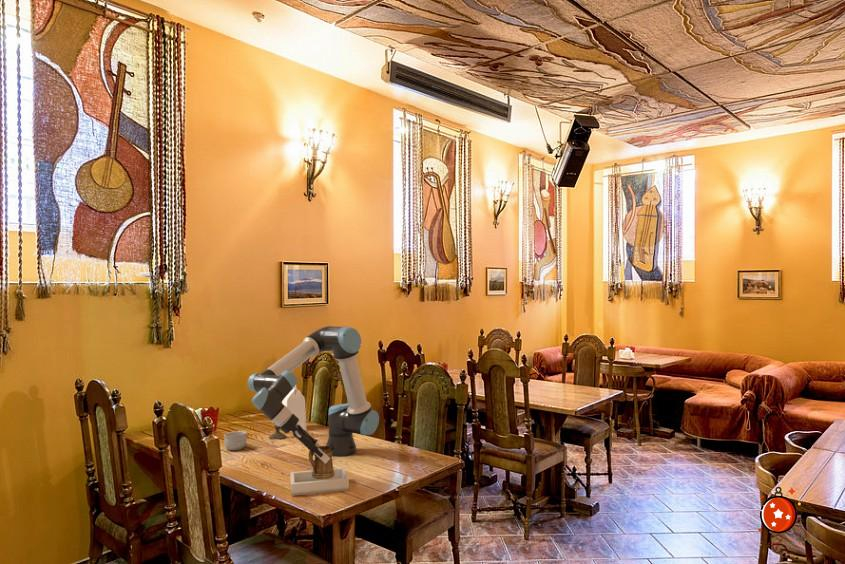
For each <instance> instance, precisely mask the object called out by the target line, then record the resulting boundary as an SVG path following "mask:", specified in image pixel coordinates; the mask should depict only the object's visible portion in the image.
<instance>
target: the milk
mask: <svg viewBox="0 0 845 564" xmlns="http://www.w3.org/2000/svg"><path fill="white" fill-rule="evenodd" d="M281 403H282V404H283V405H284V406H286V407H287V408H288V409H289V410H290V411H291V414H294V415H295V416H296V417H297V418H298V419H299V421H298V423H297V424H296V425H300V426H301V427H302V428H303V429H304V430H306V431H307V416H306V415H307V414H306V411H307V410H306V398H305V396H304V395H303V394H302V392H301V390H300V389H298V387H297V384H296V385H295V386H294V388H293V389H292V390H291V392H290V393H289V394H288V395H287V396H286V397H285V398H284V400H283V401H282V402H281ZM290 433H293V432H292V431H290Z"/></svg>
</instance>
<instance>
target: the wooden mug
mask: <svg viewBox="0 0 845 564" xmlns="http://www.w3.org/2000/svg"><path fill="white" fill-rule="evenodd" d="M304 436H305V437H306V438H307V439H308V440H310V441H311V442H312V443H313V441H312V440H311V439H310V438H309V437H308V436H306V435H305V434H304ZM313 444H314V443H313ZM314 445H315V444H314ZM319 448H320V449H321V450H322V451H323V452H324V453H325V454H326V455H327V456H328V457H330V460H329V461H328V462H327V463H326V464H325V463H324V462H323V461H322V460H321V459H320V458H319V457H317V456H316V455H315V454H314V453H313V454H311V453H312V452H311V451H310V450H308V451H309V452H308V461H309V462H310V464H311V467H312V470H313V471H312V470H311V471H312V477H313V478H315V479H329V478H331V477H333V476H334V475H335V474H334V470H333V469H334V466H333V464H334V463H333V456H332V451H331V447H329V446H326V445H321V446H320V447H319Z"/></svg>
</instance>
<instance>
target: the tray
mask: <svg viewBox="0 0 845 564" xmlns="http://www.w3.org/2000/svg"><path fill="white" fill-rule="evenodd" d="M333 470H334V474H335V475H334V476H333V477H331V478H329V479H315V478H313V477H312V471H313V469H312V470H306V471H305V470H303V471H292V472H290V477H289V478H290V492H291V493H290V495H291V497H294V496H306V495H307V496H308V495H316V494H318V495H319V494H326V493H328V494H329V493H336V492H337V493H338V492H344V491H345V492H348V491H350V479H349V476H348V473H347V471H346V469H345V467H337V468H336V467H335V468H333Z"/></svg>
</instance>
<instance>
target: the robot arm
mask: <svg viewBox="0 0 845 564" xmlns="http://www.w3.org/2000/svg"><path fill="white" fill-rule="evenodd" d="M361 344H362V337H361V334H360V333H359V331H358V330H357V329H356V328H354V327H352V326H346V325H345V326H332V325H331V326H330V325H329V326H324V327H321V328H318V329H316V330H315V331H313V332H312V333H310V334H309V335H307V336H306V337H304V338H303V340H302V342H301V343H300V344H299V345H297V346H296V347H295V348H293V349H292V350H291V351H289V352H288V353H287V354H285V355H284V356H282V357H281V358H279V359H278V360H277V361H275V362H274V363H273V364H272V365H270V366H269V367H268V368H266V369H264V370H263V371H262V372H261V373H259V372H258V373H253V374H251V375H250V376H249V378H248V379H247V386H248V389H249V390H250V391H252V392H256V394H255V395H254V396H253V397H252V399H251V403H252V404H253V405H254V406H255V408H256V409H257V410H259V411H260V412H261V413H262V414H263V415H265V416H266V417H267V418H268V419H269V420H270V421H271V424H272V425H274V424H275V425H277V426H280V429H279V430H280V431H282V433H283V434H285V435H287V434H288V433H289V432H290V431H292V432H290V433H292V436H293V437H294V438H296V439H297V440H298V441H299V442H301V444H302V445H304V446H305V448H306V449H308V451H311V452H312V453H311V454H313V453H314V454H315V455H316V456H317V457H319V458H320V459H321V460H322V461H323V462H324V463H325V464H326V463H327V462H328V461H329V460H330V457H328V456H327V455H326V454H325V453H324V452H323V451H322V450H321V449H320V448H319V447H320V446H322V445H321V444H319V442H318V441H319V440H318V439H317V438H314V437H312V436H311V434H309V433H308V432H307V430H306V431H305V430H304V429H303V428H302V427H301V426H300V425H296V424H297V423H298V421H299V419H298V418H297V417H296V416H295V415H294V414H291V411H290V410H289V409H288V408H287V407H286V406H284V405H283V404H282V401H283V400H284V398H285V397H286V396H287V395H288V394H289V393H290V392H291V390H292V389H293V388H294V386H295V385H296V386H297V384H298V378H297V376H296V375H295V374H294V373H293V371H294V370H297V368H299V367H300V366H301V365H303V364H304V363H305V362H306V361H307V360H309V359H310V358H312V357H313V356H315V357H316V356H318V355H319V354H321V353H323V352H331V353H332V354H333V355H332V356H333V359H334V360H336V361H337V362H338V365H339V369H340V374H341V378H342V382H343V386H344V391H345V395H346V398H347V402H348V403H339V404H334V405H331V406H330V407H329V408H328V414H327V415H328V416H327V417H328V438H327V441H326V445H325V446H329V447H331V451H332V457H344V456H350V455H353V454H355V453H357V445H356V443H355V442H356V441H355V439H354V436H353V434H358V435H361V436H364V435H365V436H370V435H373V434H374V433H375V431H376V430H377V429H378V426H379V422H380V416H379V415H380V414H379V413H378V411H376V410H374V409H373V408H372V405H371V402H369V401H367V396H366V392H365V389H364V385H363V384H364V383H363V380H362V379H363V378H362V374H361V370H360V366H359V362H358V358H357V356H358V354H359V353H360V352H359V350H360V349H361V347H362V345H361ZM290 433H289V434H290ZM304 434H305V435H306V436H308V437H309V438H310V439H311V440H312V441H313V443H314V444H315V445H314V444H313V443H312V442H311V441H310V440H308V439H307V438H306V437H305V436H304Z"/></svg>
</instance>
